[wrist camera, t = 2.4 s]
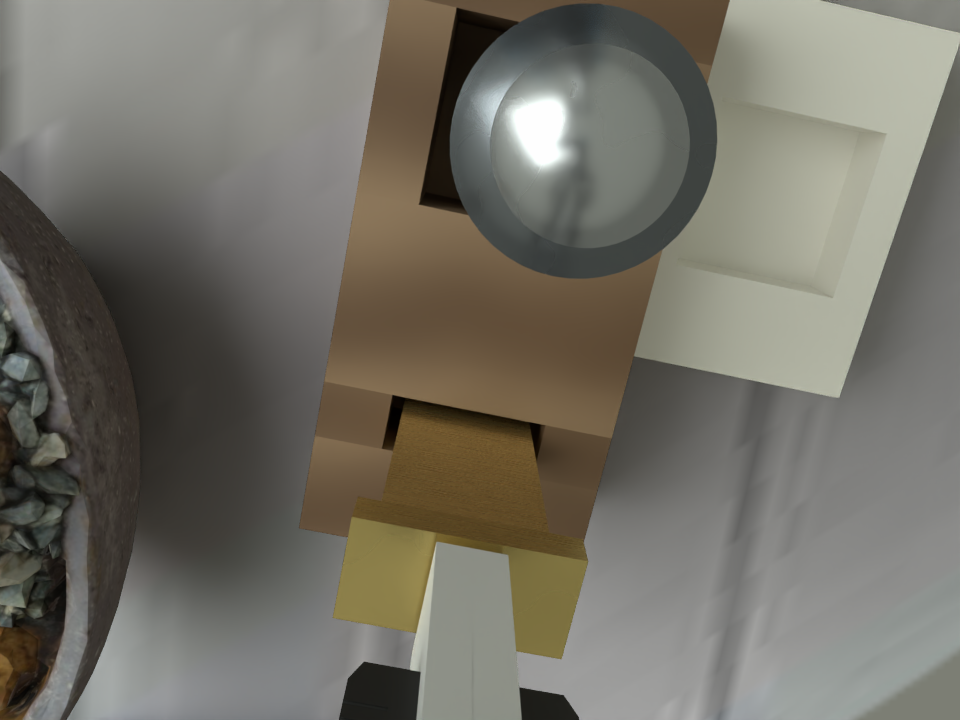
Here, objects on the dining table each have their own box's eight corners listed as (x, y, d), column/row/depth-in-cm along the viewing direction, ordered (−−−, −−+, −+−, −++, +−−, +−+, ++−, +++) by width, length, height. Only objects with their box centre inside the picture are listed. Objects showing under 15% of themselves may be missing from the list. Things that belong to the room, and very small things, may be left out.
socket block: (417, -42, 29) (403, -80, 23) (680, 19, 30) (730, -3, 24) (328, 456, 34) (299, 528, 28) (556, 500, 34) (573, 579, 29)
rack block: (688, -12, 29) (711, -26, 26) (915, 41, 30) (962, 33, 27) (600, 330, 32) (612, 351, 30) (806, 373, 33) (838, 398, 30)
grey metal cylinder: (475, 50, 28) (481, -34, 12) (598, 77, 28) (768, 32, 12) (450, 175, 29) (423, 258, 13) (569, 201, 29) (688, 313, 13)
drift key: (393, 375, 28) (351, 516, 18) (548, 406, 28) (588, 561, 18) (380, 445, 28) (333, 617, 19) (531, 474, 29) (561, 659, 19)
